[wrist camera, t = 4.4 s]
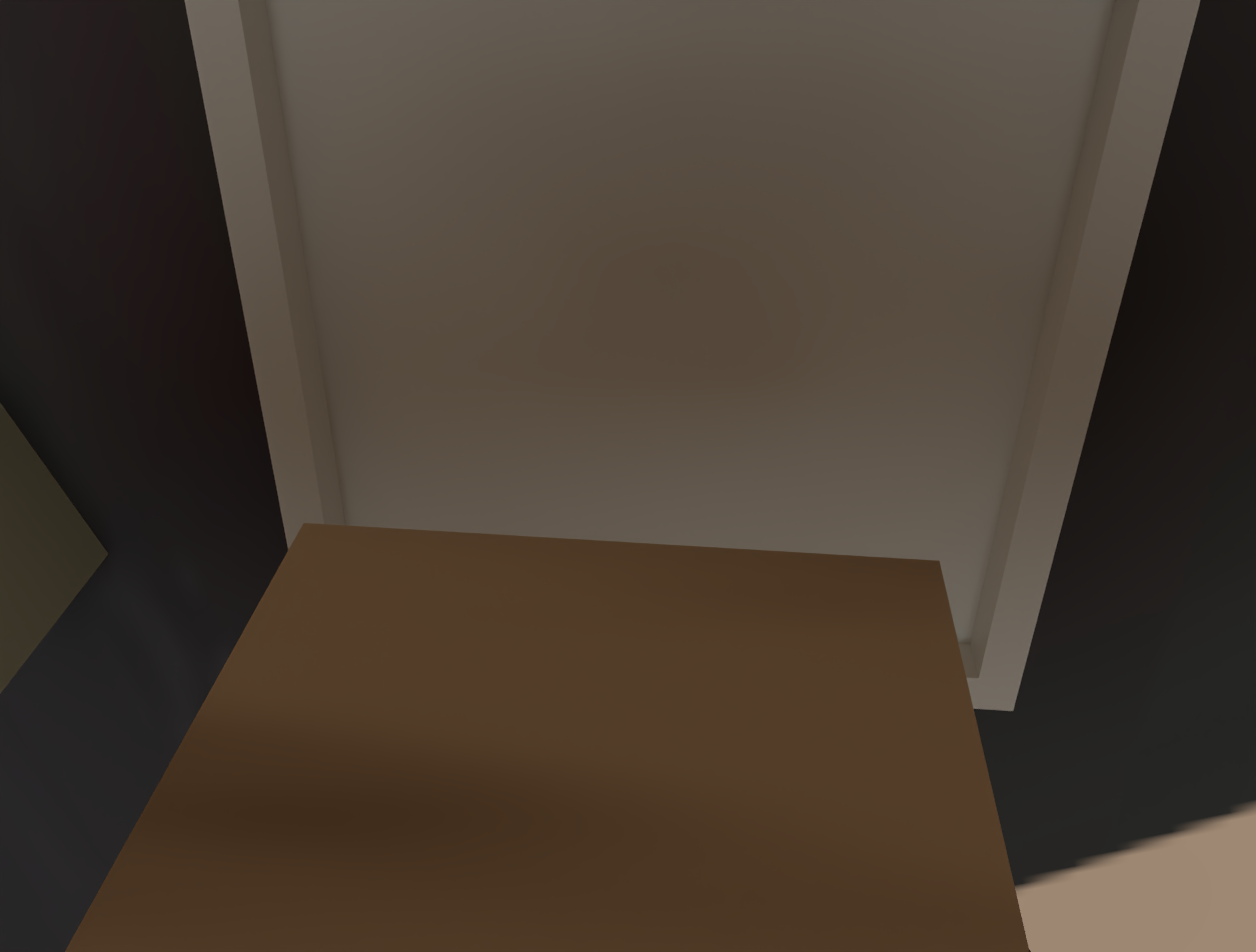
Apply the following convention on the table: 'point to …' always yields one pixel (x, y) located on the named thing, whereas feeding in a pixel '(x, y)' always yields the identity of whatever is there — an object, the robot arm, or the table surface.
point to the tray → (693, 268)
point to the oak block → (574, 760)
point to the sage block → (36, 550)
